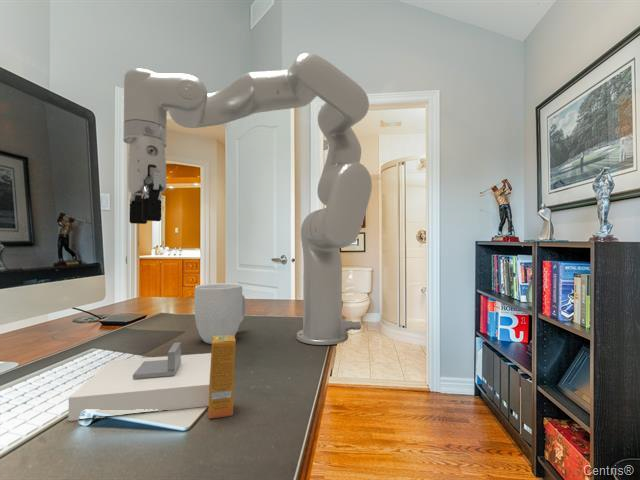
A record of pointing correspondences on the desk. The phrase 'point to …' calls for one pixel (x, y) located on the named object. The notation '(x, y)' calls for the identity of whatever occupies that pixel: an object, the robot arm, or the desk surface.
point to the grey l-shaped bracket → (161, 365)
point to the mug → (218, 309)
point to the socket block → (144, 387)
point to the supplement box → (222, 376)
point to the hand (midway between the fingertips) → (144, 222)
